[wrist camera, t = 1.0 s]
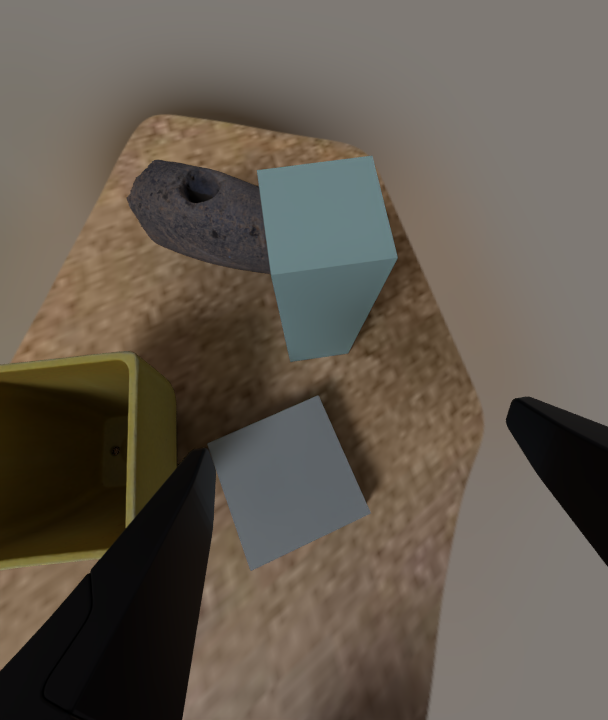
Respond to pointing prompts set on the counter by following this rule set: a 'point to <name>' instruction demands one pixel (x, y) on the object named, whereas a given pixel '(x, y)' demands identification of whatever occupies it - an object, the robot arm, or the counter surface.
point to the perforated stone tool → (202, 214)
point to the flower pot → (79, 453)
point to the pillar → (325, 251)
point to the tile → (286, 481)
